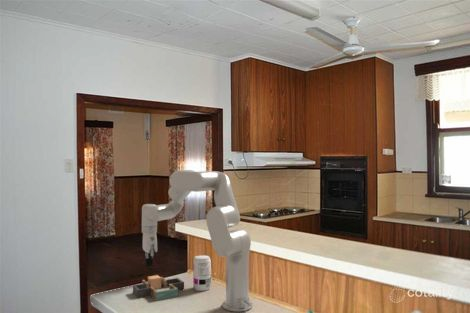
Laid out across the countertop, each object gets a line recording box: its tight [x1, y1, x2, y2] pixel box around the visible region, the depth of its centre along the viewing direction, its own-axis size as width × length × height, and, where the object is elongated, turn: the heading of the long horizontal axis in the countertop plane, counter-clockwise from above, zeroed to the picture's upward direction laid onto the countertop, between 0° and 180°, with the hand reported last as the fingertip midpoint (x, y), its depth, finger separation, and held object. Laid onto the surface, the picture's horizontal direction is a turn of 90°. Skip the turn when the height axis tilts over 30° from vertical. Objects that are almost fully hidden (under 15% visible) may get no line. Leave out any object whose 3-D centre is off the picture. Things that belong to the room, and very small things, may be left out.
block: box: [147, 274, 162, 290], centre depth 180 cm, size 5×5×5 cm
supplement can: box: [192, 254, 212, 292], centre depth 178 cm, size 8×8×15 cm
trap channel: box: [132, 276, 185, 302], centre depth 174 cm, size 21×22×4 cm
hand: (149, 265), depth 187 cm, fingers closed
